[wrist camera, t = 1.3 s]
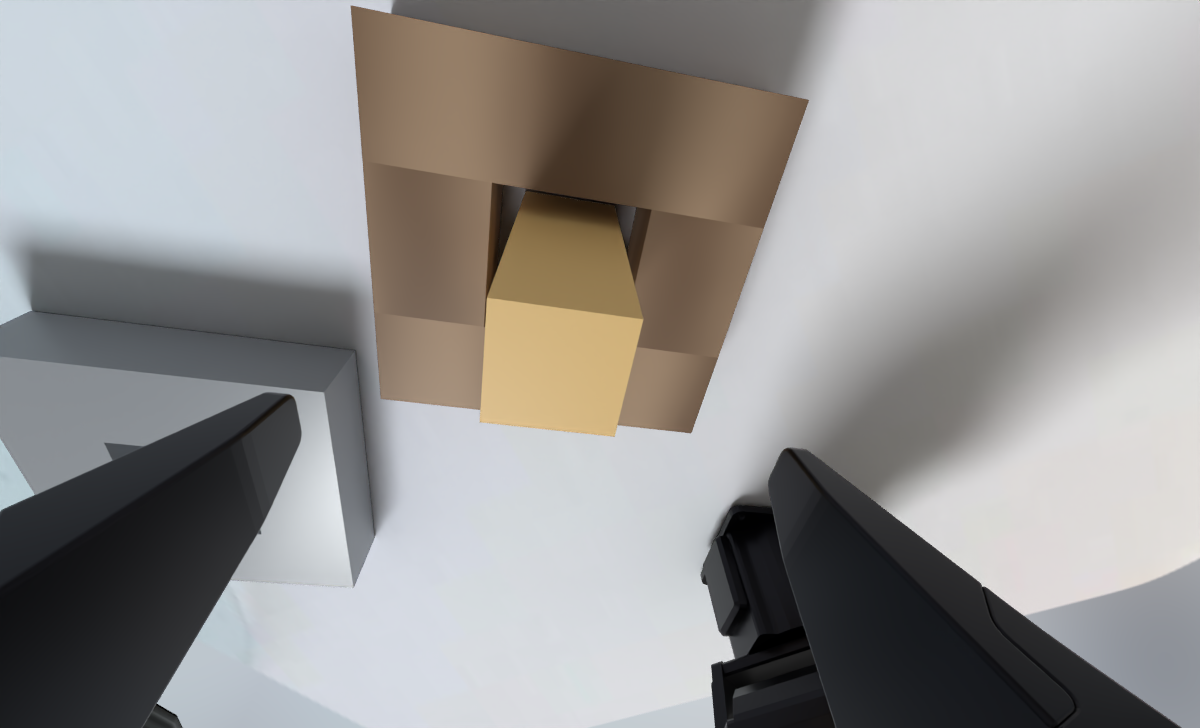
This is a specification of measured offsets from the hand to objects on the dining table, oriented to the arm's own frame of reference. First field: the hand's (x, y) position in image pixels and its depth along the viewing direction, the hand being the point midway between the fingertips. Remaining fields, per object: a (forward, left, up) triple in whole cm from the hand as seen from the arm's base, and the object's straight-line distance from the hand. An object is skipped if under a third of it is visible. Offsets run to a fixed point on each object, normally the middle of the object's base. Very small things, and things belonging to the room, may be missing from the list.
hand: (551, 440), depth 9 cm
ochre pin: (0, 0, -11) cm, 11 cm away
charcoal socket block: (+14, +12, -11) cm, 21 cm away
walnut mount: (0, 0, -11) cm, 11 cm away
